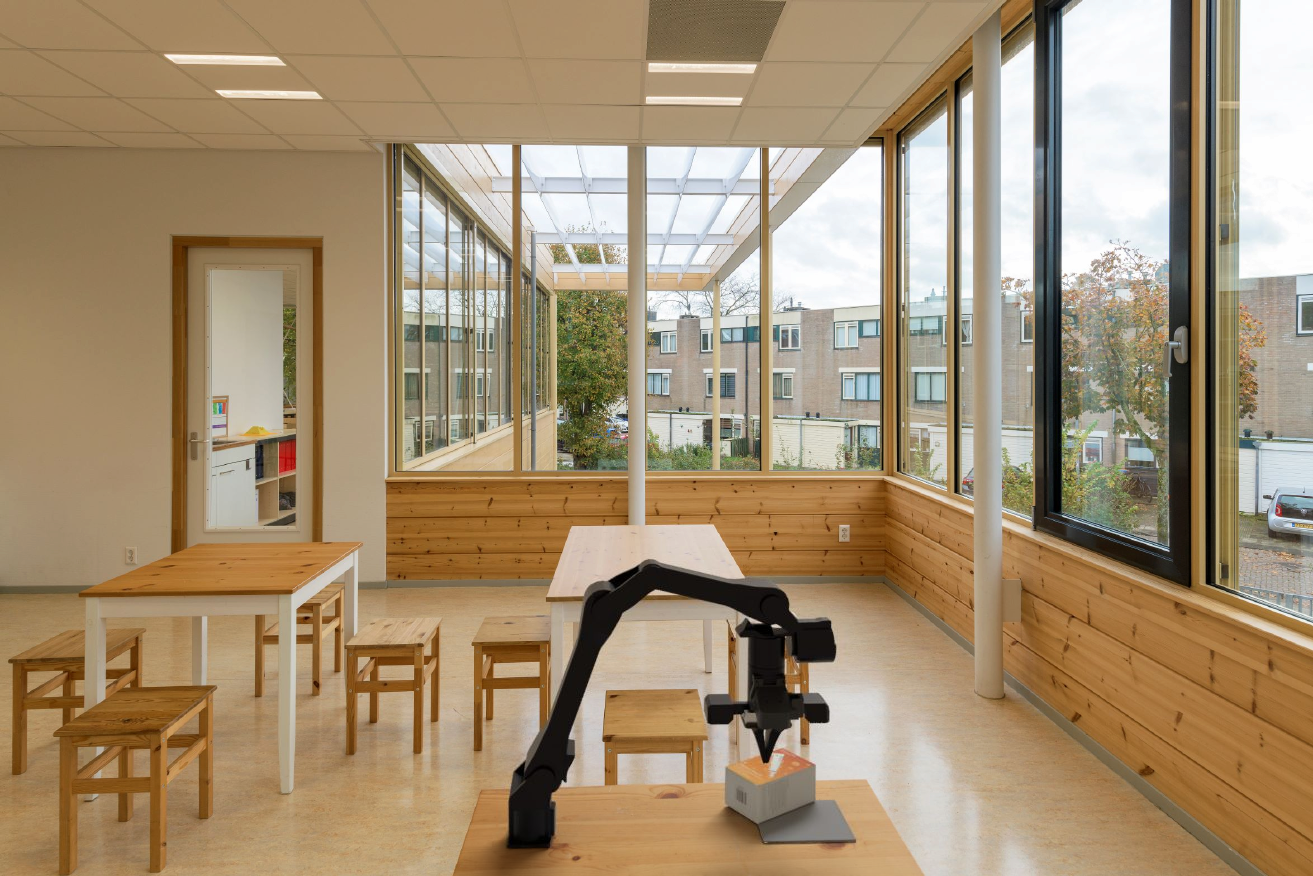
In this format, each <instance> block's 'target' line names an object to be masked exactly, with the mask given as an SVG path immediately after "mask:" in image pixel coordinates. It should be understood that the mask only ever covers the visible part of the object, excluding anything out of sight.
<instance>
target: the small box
mask: <svg viewBox="0 0 1313 876" xmlns="http://www.w3.org/2000/svg"><path fill="white" fill-rule="evenodd" d="M816 766H817V765H816V764H815V763H813V762H812V761H809V760H807V759H806V758H803V757H801V756H799V755H797V754H795V753H793V752H792V751H789V750H787V749H786V748H784V747H783V748H782V747H781V748H778V749H775V750H773V752H772V755H771V757H770V760H769V763H763V762H762V759H761V756H760V755H757V756H754V757H752V758H748V759H746V760H741V761H739V762H736V763H733V764H729V765H727V766H725V769H724V771H725V772H724V805H726V806H728V807H730V808H731V809H733V810H734V811H736V812H737V813H738V814H741V815H743V816H744V817H746V818H747V819H749V820H751V821H752V822H754V824H756V825H758V824H759V823H762V822H764V821H766V820H769V819H771V818H774V817H776V816H779V815H781V814H784V813H786V812H789V811H791V810H794V809H796V808H799V807H801V806H804V805H806V804H808V803H811V802H813V801H815V800H817V799H816V798H817V797H816V795H817V794H816V789H817V788H816V785H817V784H816V781H817V780H816V779H817V778H816V776H817V771H816V769H817V767H816Z"/></svg>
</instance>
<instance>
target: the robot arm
mask: <svg viewBox="0 0 1313 876" xmlns="http://www.w3.org/2000/svg"><path fill="white" fill-rule="evenodd" d="M655 591H660V592H664V593H669V594H672V595H678V596H682V597H687V598H690V599H694V600H697V601H699V600H700V601H704V602H708V603H711V604H716V605H721V606H725V607H728V608H729V609H733V610H734V611H736V612H738V613H740V614H742V615H743V616H746V617H748V618H750V619H753V620H754V621H756V622H754V623H753V622H751V621H750V620H749V619H748V618H746V617H745V618H743V621H742V622H741V623H740V624H738V625H737V626H736V627H735V628H734V631H735V632H736V634H737V635H738V636H739V637H738V638H741V639H742V638H744V639H745V638H746V639H747V690H746V691H747V693H746V694H747V697H746V699H747V700H746V701H745V700H744V701H738V700H737V701H734V700H733V701H732V698H731V696H730V693H707V695H706V696H705V697H704V699H703V712H704V716H705V720H706V723H707V724H709V725H712V726H714V725H717V726H718V725H724V726H725V725H729V724H730V723H732V721H734V715H735V716H737V715H739V717H740V719H741V722H742V724H743V727H744V728H745V729H748V730H751V731H752V733H753V735H754V736H753V737H754V739H755V742H756V746H757V748H758V752H759V756H761V759H762V762H763V763H769V760H770V757H771V755H772V752H773V751H774V749H775V747H776V743H777V742H778V740H779V738H780V736H781V734H782V733H783V732H784V731H785V730H789V729H791V728H792V727H793V723H792V721H797V720H798V721H799V719H802V718H804V719H805V720H806V721H807V722H808V723H809V724H828V723H830V713H831V712H830V705H828V703H827V701H826V700H825V698H824V697H823V696H822V695H821V694H820V693H819V692H792V691H791V692H790V691H788V689H787V685H786V684H787V683H786V681H787V680H786V653H787V655H788V657H790V658H793V660H794V662H795V663H796V664H816V663H817V664H821V663H834V661H835V660H836V657H837V643H836V641H835V635H834V631H833V628H832V620H831V619H830V618H828V617H827V616H822V617H821V616H820V617H815V618H798V617H797V616H796V615H795V614H793V612H791V610H790V604H791V603H790V599H789V597H788V596H787V594H786V593H785V591H784V590H783V589H782V588H781V587H779V586H778V585H777V584H776V583H774V582H773V581H772V580H770V579H766V578H751V577H750V578H749V577H743V578H727V577H722V576H720V575H719V576H718V575H714V574H710V573H706V572H701V571H698V570H695V569H694V570H693V569H690V568H685V567H682V566H681V567H680V566H675V565H673V564H668V563H663V562H660V561H659V560H657V559H654V558H653V559H652V558H647V559H645V560H643V561H642V562H640V563H638V564H637V565H635V566H634V567H632V568H630V569H627V570H625V571H622V572H620V573H618V574H616V575H615V576H613V577H611V578H610V579H608V580H597V581H594V582H593V583H591V584H589V585H588V587H587V588H586V590H585V591H584V593H583V600H582V604H581V610H580V617H579V624H578V629H577V630H578V631H577V636H576V640H575V643H574V645H573V648H572V651H571V654H570V656H569V659H568V661H567V662H568V663H567V664H566V667H565V670H564V673H563V676H562V679H561V682H560V684H559V687H558V690H557V692H556V695H555V698H554V700H553V701H554V702H553V704H552V707H551V709H550V712H549V715H548V718H547V719H546V722H545V723H544V724H543V726H542V727H541V729H539V731H538V733H537V735H536V736H535V738H534V739H533V742H532V743H531V745H530V747H529V748H528V750H527V752H526V757H525V759H524V760H523V761H522V763H520V764H519V765H518V766H517V767H516V768H515V769H514V771H513V773H512V778H511V783H510V789H509V795H508V805H507V806H508V808H507V809H508V813H507V814H508V815H507V816H508V817H507V819H508V825H507V826H508V831H507V832H508V835H507V839H506V842H505V843H506V845H505V846H506V847H505V848H508V849H509V848H510V849H511V848H513V849H514V848H515V849H517V848H549V847H550V846H551V844H552V839H553V838H552V837H555V835H556V828H557V803H556V801H555V800H554V801H553V793H556V792H557V791H558V790H559V789H560V787H561V786H562V782H563V783H565V784H566V783H567V781H568V773H569V772H568V771H570V770H569V769H570V767H571V766H572V764H573V763H574V760H575V758H576V740H575V739H570V734H571V732H572V729H573V726H574V724H575V721H576V718H577V715H578V714H579V713H578V712H579V709H580V707H581V704H582V701H583V698H584V696H585V693H586V690H587V687H588V684H589V681H590V679H591V676H592V674H593V671H594V667H595V665H596V663H597V659H598V656H599V654H600V651H601V649H602V648H603V646H604V645H605V644H606V643H607V641H608V640H609V639H610V637H611V636H612V634H613V633H614V631H615V629H616V627H617V625H618V623H619V622H620V619H621V618H622V616H623V613H625V612H628V611H629V610H630V609H632V608H633V607H634V606H635V605H637V604H638V603H640V601H642V600H643V599H644V598H646V596H648V595H649V594H650V593H652V592H655ZM773 625H777V626H779V627H773Z"/></svg>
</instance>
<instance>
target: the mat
mask: <svg viewBox="0 0 1313 876" xmlns="http://www.w3.org/2000/svg"><path fill="white" fill-rule="evenodd" d="M758 826H759V827H758ZM757 827H758V829H760V830H759V833H760V832H761V833H760V836H761V835H762V837H761V839H763V840H762V842H779V843H778V844H782V843H781V842H784V843H785V844H787V843H789V844H790V843H793V844H795V843H798V844H799V843H839V842H840V843H844V842H847V843H849V842H850V843H851V842H857V838H856V836H855V835H854V833H853V830H852V829H851V827H850V826H849V824H848V822H847V819H846V818H845V816H844V815H843V813H842V811H841V809H840V807H839V805H838V804H837V801H836V800H835V799H816V800H815V801H813V802H811V803H808V804H806V805H804V806H801V807H799V808H796V809H794V810H791V811H789V812H786V813H784V814H781V815H779V816H776V817H774V818H771V819H769V820H766V821H764V822H762V823H759V824H757ZM784 843H783V844H784Z"/></svg>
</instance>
